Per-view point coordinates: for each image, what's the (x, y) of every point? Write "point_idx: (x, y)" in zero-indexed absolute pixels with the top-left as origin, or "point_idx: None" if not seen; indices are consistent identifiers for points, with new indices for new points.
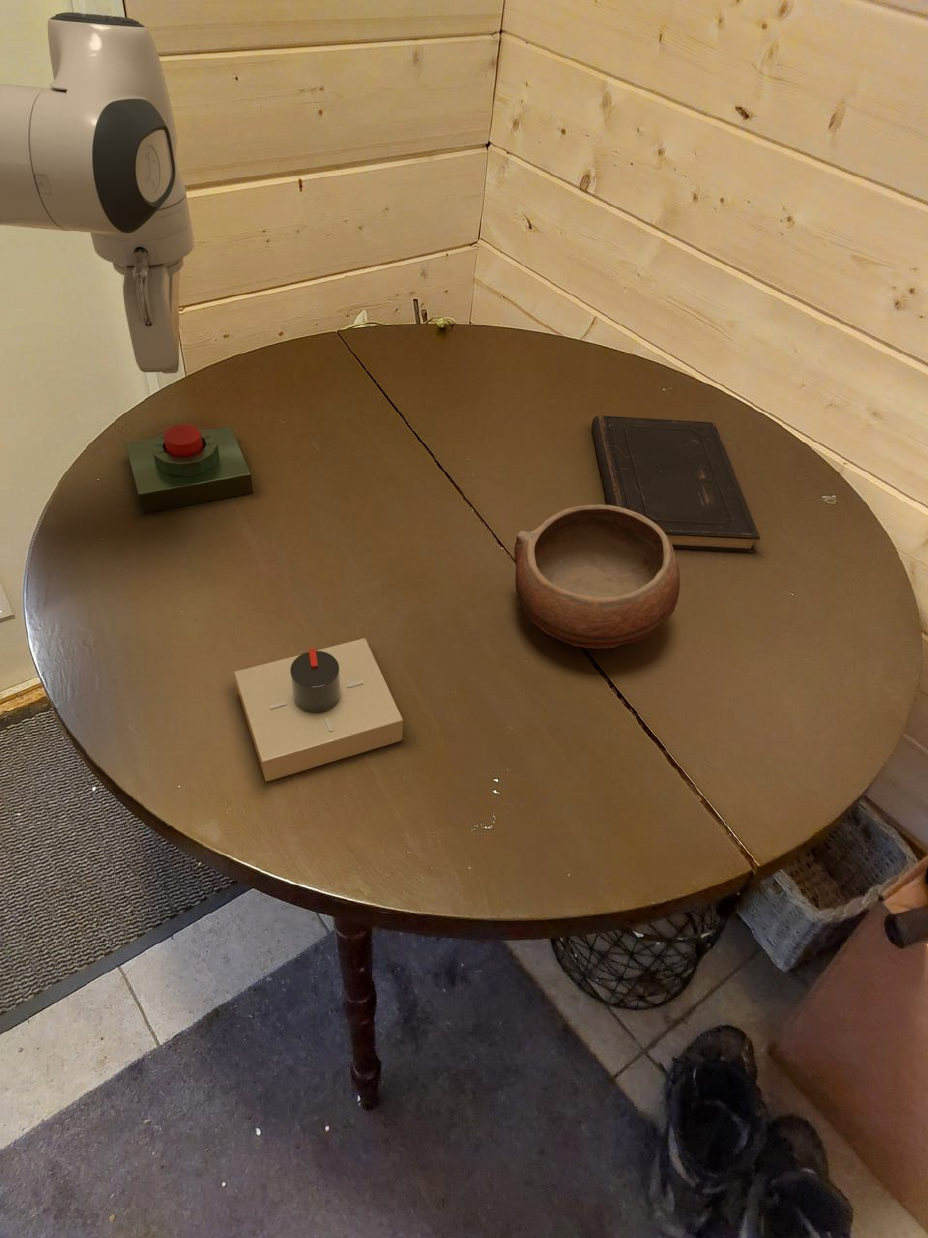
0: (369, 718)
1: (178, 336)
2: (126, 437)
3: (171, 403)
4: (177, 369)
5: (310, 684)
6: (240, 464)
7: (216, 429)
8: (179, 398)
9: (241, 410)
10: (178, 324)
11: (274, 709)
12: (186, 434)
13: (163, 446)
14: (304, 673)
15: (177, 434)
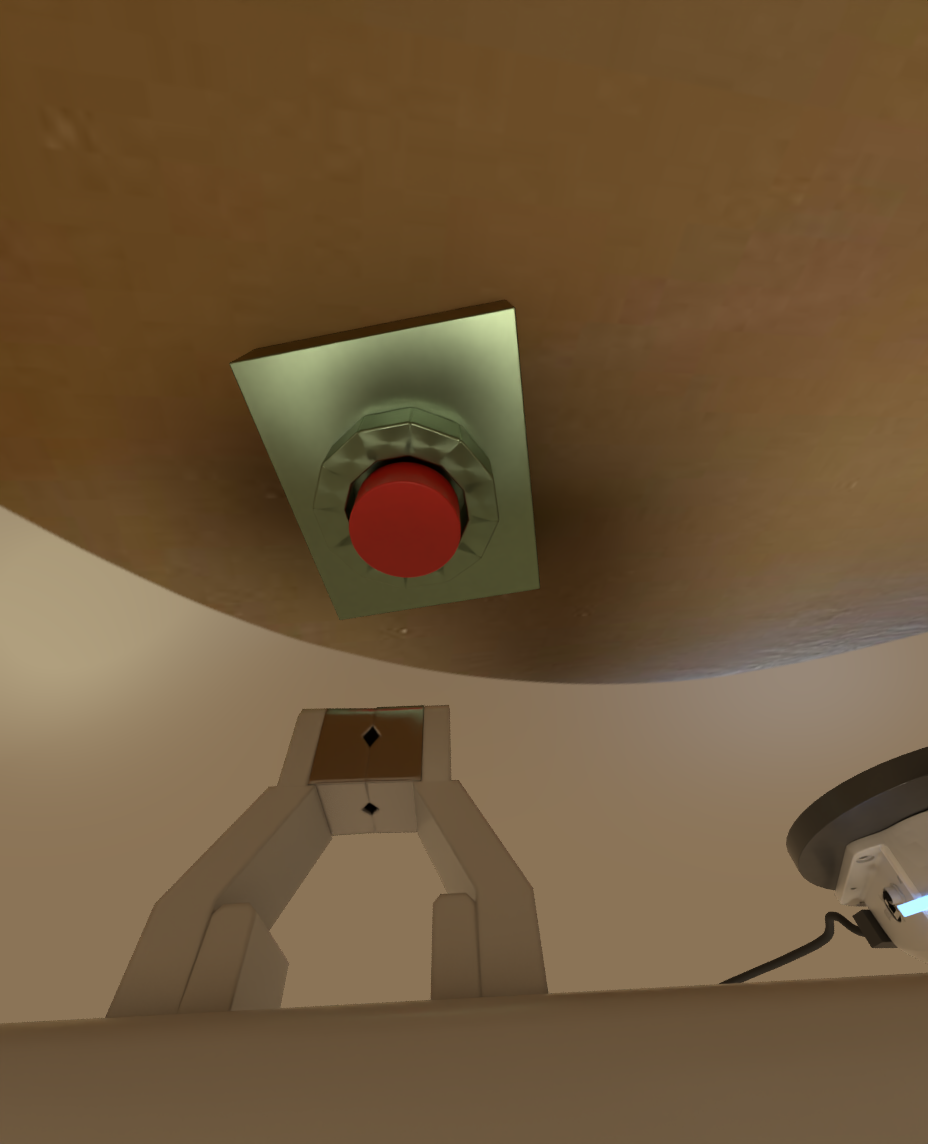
0: None
1: (835, 1116)
2: (252, 598)
3: (75, 515)
4: (447, 712)
5: None
6: (458, 340)
7: (257, 411)
8: (41, 497)
9: (40, 310)
10: (584, 1139)
11: None
12: (406, 521)
13: None
14: None
15: (406, 545)
